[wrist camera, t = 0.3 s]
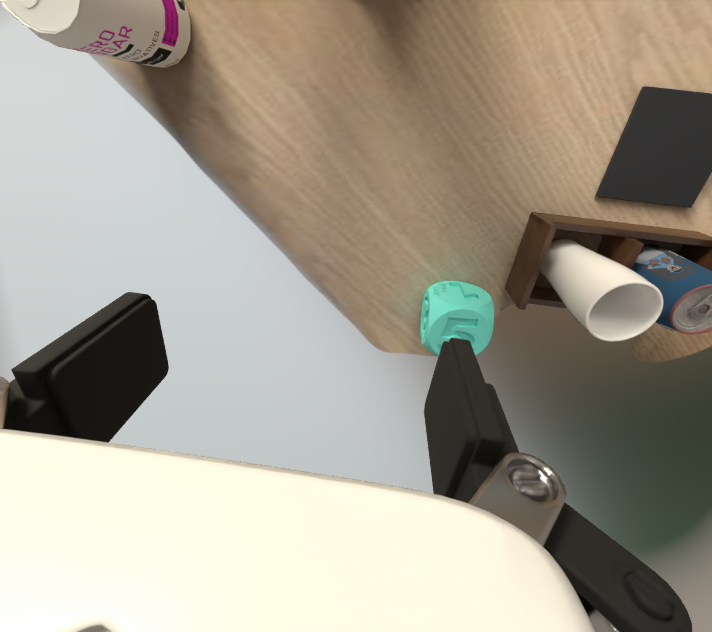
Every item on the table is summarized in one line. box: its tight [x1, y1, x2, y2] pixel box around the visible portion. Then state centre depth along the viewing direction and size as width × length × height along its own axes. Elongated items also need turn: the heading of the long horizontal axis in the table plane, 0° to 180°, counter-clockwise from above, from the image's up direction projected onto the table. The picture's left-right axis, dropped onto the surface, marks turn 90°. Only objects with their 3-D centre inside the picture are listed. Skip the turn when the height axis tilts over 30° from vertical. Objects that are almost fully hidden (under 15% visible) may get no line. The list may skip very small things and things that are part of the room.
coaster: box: [596, 86, 712, 208], centre depth 39 cm, size 11×11×1 cm
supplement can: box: [0, 0, 190, 68], centre depth 30 cm, size 8×8×15 cm
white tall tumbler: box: [540, 239, 663, 341], centre depth 39 cm, size 7×7×15 cm
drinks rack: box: [505, 212, 712, 309], centre depth 43 cm, size 11×20×6 cm, turn 84°
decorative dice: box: [420, 281, 494, 356], centre depth 47 cm, size 8×8×8 cm
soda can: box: [631, 244, 712, 334], centre depth 40 cm, size 7×7×12 cm
